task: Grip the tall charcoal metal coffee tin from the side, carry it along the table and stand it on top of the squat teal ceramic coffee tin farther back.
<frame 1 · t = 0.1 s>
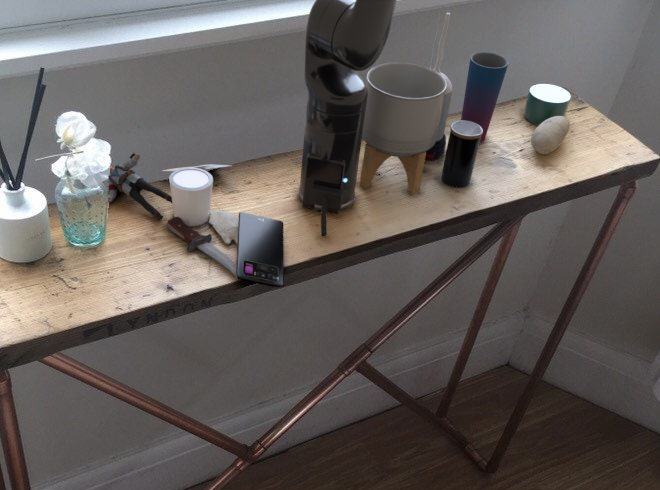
planter: (390, 177, 155), on the table
squat tin: (543, 116, 176), on the table
knife: (217, 239, 137), point 1 cm above the table, touching smartphone
diorama: (196, 165, 150), point 2 cm above the table
stone: (546, 147, 167), on the table
arrowhead: (251, 238, 137), point 1 cm above the table, touching smartphone
cup: (471, 137, 168), on the table
tall tin: (455, 180, 156), on the table
white tall piece: (421, 150, 163), on the table
action figure: (164, 207, 139), point 2 cm above the table
smartphone: (261, 245, 134), point 2 cm above the table, touching arrowhead, knife
white cylinder: (191, 217, 142), on the table
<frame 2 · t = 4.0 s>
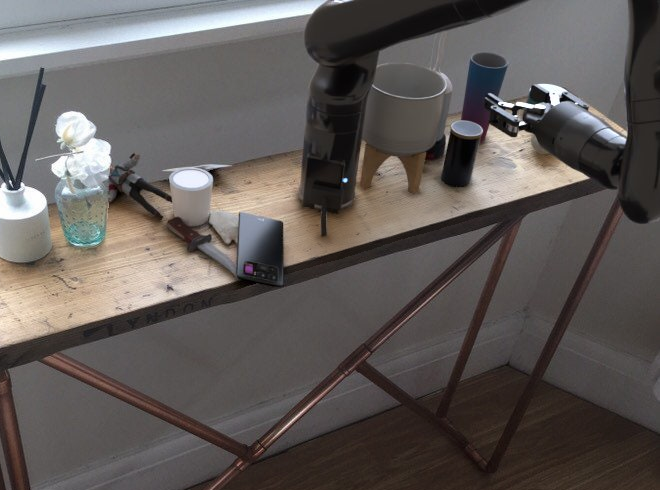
hand: (509, 94, 136), 20 cm above the table, tool horizontal, fingers open, 8 cm apart
nothing on the table moved.
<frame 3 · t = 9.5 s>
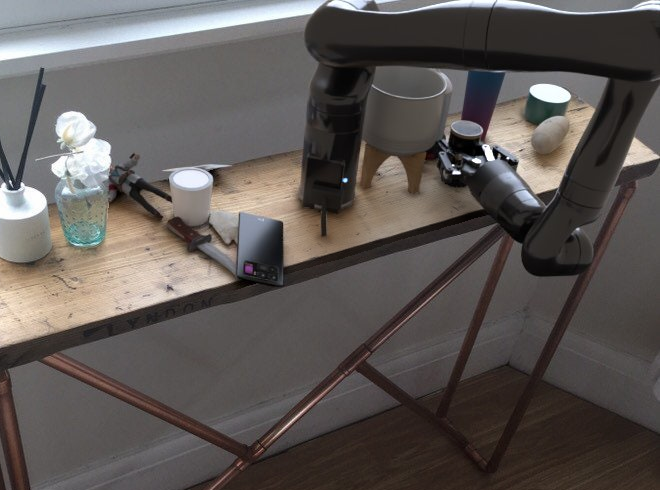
hand: (455, 142, 153), 6 cm above the table, tool horizontal, fingers closed on tall tin, 5 cm apart
tall tin: (455, 180, 156), on the table, touching gripper
everything else where it was.
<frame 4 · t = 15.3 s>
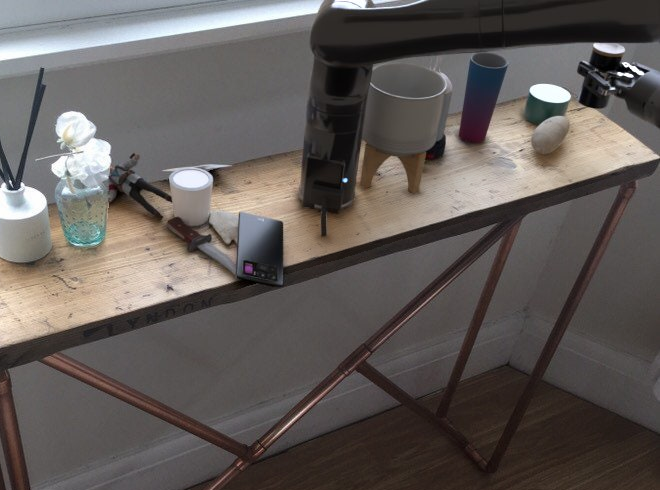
hand: (592, 64, 157), 16 cm above the table, tool horizontal, fingers closed on tall tin, 5 cm apart
tall tin: (592, 102, 159), point 10 cm above the table, touching gripper
everything else where it was.
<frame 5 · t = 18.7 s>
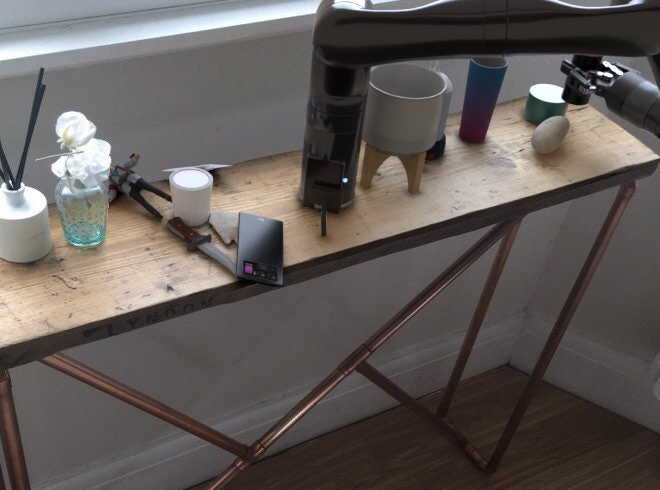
hand: (574, 62, 165), 13 cm above the table, tool horizontal, fingers closed on tall tin, 5 cm apart
arrowhead: (251, 238, 137), point 1 cm above the table
tall tin: (574, 99, 167), point 7 cm above the table, touching gripper
smartphone: (261, 245, 134), point 2 cm above the table, touching knife
everything else where it was.
when the fingers open (11 cm above the table, at t = 21.4 s): tall tin stays where it is, resting on squat tin.
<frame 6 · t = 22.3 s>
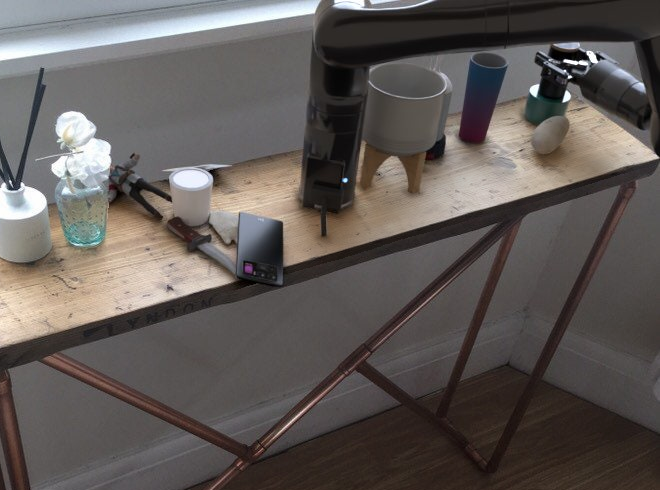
hand: (553, 53, 168), 12 cm above the table, tool horizontal, fingers open, 8 cm apart
squat tin: (543, 116, 176), on the table, touching tall tin
arrowhead: (251, 238, 137), point 1 cm above the table, touching smartphone
tall tin: (550, 93, 172), point 5 cm above the table, touching squat tin
smartphone: (261, 245, 134), point 2 cm above the table, touching arrowhead, knife
everything else where it was.
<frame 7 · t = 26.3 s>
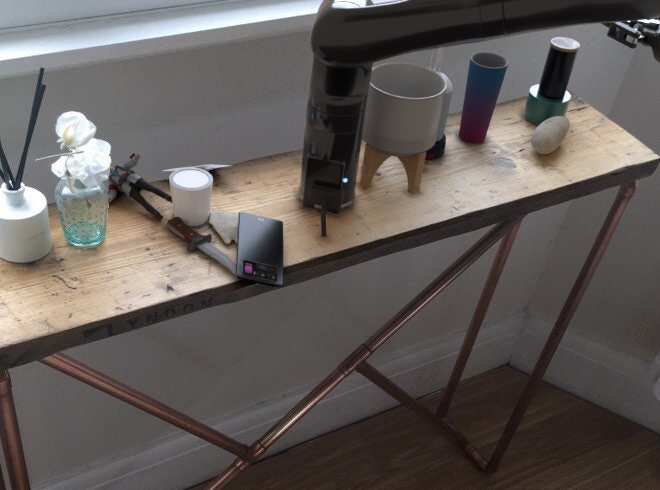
hand: (619, 12, 153), 24 cm above the table, tool horizontal, fingers open, 8 cm apart
nothing on the table moved.
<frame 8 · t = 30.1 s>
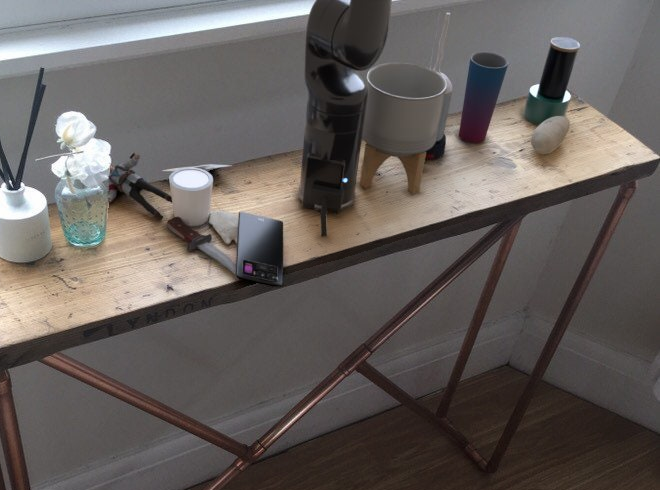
nothing on the table moved.
at the end: tall tin 0.1 cm off-centre on the squat tin, point 5.0 cm above the squat tin's base; tall tin tilted 0°; the gripper is holding nothing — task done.
